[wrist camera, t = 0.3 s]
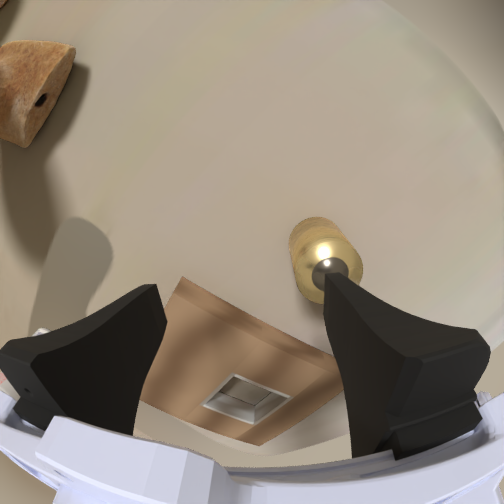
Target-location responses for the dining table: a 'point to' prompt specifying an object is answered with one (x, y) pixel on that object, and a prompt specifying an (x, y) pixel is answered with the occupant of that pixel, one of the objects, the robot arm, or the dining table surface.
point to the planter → (2, 3)
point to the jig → (234, 369)
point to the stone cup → (30, 85)
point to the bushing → (321, 256)
